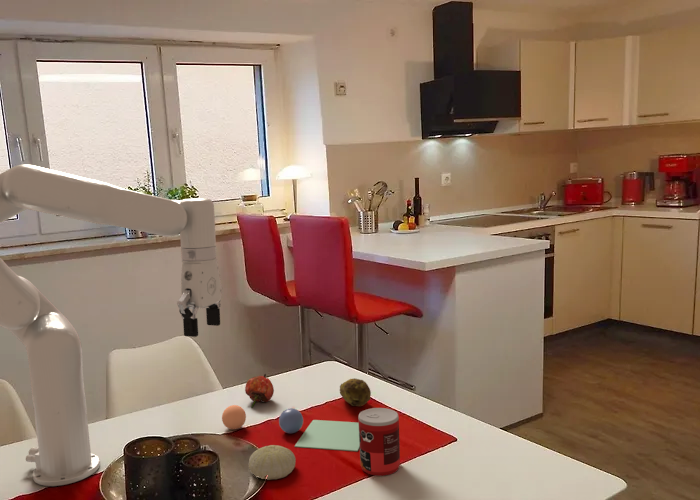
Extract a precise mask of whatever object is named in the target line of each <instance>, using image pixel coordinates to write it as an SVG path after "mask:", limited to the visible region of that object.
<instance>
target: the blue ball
mask: <svg viewBox="0 0 700 500" xmlns="http://www.w3.org/2000/svg"><path fill="white" fill-rule="evenodd" d="M278 424H279V427H280V428H281V430H282V431H283V432H284V433H286V434H295V433H297V432H298V431H300V430H301V429H302V427H303V425H304V417H303V415H302V412H301V411H299V410H298V409H296V408H290V407H289V408H286V409H285V410H283V411H282V412H281V414H279V418H278Z"/></svg>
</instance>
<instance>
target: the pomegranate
mask: <svg viewBox="0 0 700 500" xmlns="http://www.w3.org/2000/svg"><path fill="white" fill-rule="evenodd" d="M266 375H267V374H266V373H264V374H263V375H257V376H254V377H251V378H249V379H248V380H247V382H246V383H245V388H244V391H245V395H247V396H248V398H249V399H250V400H251V401H253V403H252V404H251V406H250V408H251V409H253V407H254V406H255V404H256V402H258V403H259V402H262V403H268V402H269V401H271V399H272V398H273V396H274V392H275V390H274V385H273V382H272V381H271V380H270V379H269V378H267V377H266Z"/></svg>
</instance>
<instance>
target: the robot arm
mask: <svg viewBox="0 0 700 500" xmlns="http://www.w3.org/2000/svg"><path fill="white" fill-rule="evenodd" d="M26 210H30V211H34V212H40V213H44V214H49V215H54V216H57V217H59V216H60V217H64V218H69V219H72V220H78V221H83V222H86V223H87V222H88V223H92V224H96V225H97V224H98V225H103V226H104V225H105V226H113V227H117V228H118V227H119V228H123V229H128V230H132V231H133V230H135V231H138V232H143V233H148V234H152V235H157V236H162V237H175V236H177V235H179V236H180V240H179V241H180V255H181V256H180V257H181V263H182V266H181V278H180V280H181V281H180V283H181V284H180V285H181V286H180V291H181V293H180V294H181V296H180V297H179V298H178V300H177V301H176V302H177V303H176V304H177V307H178V309H179V313H180V315H181V317H180V318H181V319H182V324H183V326H182V327H183V335H184V336H185V337H191V338H193V337H194V338H196V337H198V336H199V325H198V323H199V322H198V321H199V320H198V317H196V316H197V314H198V311H199V309H205V311H206V312H205V314H206V325H207V326H213V327H214V326H216V327H217V326H220V325H221V309H220V308H221V306H222V305H221V300H222V298H223V294H222V293H223V287H222V280H221V273H220V266H219V262H218V259H217V241H216V236H217V235H216V223H215V221H216V219H215V205H214V202H213V201H212V200H211V199H210V198H208V197H207V198H206V197H204V198H203V197H196V198H195V197H194V198H193V197H192V198H184V199H180V200H179V199H170V198H164V197H160V196H155V195H151V194H147V193H142V192H139V191H135V190H130V189H126V188H122V187H119V186H117V185H113V184H110V183H108V182H104V181H101V180H97V179H91V178H87V177H84V176H79V175H75V174H71V173H66V172H63V171H58V170H54V169H50V168H45V167H41V166H37V165H33V164H27V163H26V164H18V165H14V166H12V167H10V168H8V169H7V170H4V171H3V172H1V173H0V224H1V223H3V222H5V221H7V220H9V219H11V218H13V217H15V216H17V215H19V214H21V213H22V212H24V211H26ZM190 309H191V310H190ZM0 328H3V329H7V330H8V331H9V332H10V333H12V335H13V336H14V337H15V338H16V339H18V340H19V341H20V342H21V343H22V344H23V345H24V346H25V349H26V355H27V361H28V367H29V368H28V369H29V379H30V387H31V388H30V390H31V398H32V404H33V412H34V413H33V414H34V421H35V430H36V431H35V432H36V438H37V447H30V449H29V451H28V454H27V455H26V456H25V462H27V463H35V468H34V470H33V472H32V478H33V481H34V482H35V483H36V484H37V485H40V486H45V487H57V486H58V487H60V486H64V485H65V486H66V485H69V484H72V483H73V484H74V483H76V482H79V481H82V480H84V479H86V478H89V477H90V476H91V475H93V474H94V473H96V472H97V470H99V467H101V466H100V465H101V459H100V457H99V456H98V455H97V454H94V453H92V450H91V442H90V441H91V439H90V430H89V422H88V421H89V420H88V410H87V401H86V394H85V393H86V392H85V384H84V382H85V381H84V374H83V373H84V371H83V348H82V341H81V338H80V336H79V334H78V332H77V330H76V328H75V327H74V326H73V324H72V323H71V321H70V320H69V319H68V318H67V317H66V316H65V315H64V314H63V313H62V312H61V311H60V310H59V309H58V308H57V307H56V306H55V305H54V304H53V303H52V302H51V301H50V300H49V299H48V298H47V297H46V295H44V293H42V292H41V291H40V290H39V289H38V287H36V285H35V284H34V283H32V282H31V280H29V279H27V278H25V277H23V276H21V275H18V274H17V273H16V272H15V271H14V270H12V268H11V267H9V266H8V264H7V263H6V262H5V261H4V260H3V258H1V257H0Z"/></svg>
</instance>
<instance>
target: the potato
mask: <svg viewBox="0 0 700 500" xmlns="http://www.w3.org/2000/svg"><path fill="white" fill-rule="evenodd" d="M371 391H372V390H371V388H370V386H369V385H368V384H367V382H366V381H364V380H363V379H359V378H350V379H348V380H345V381H344V382H343V383H341V384H340V385H339V393H340V396H341V397H342V398H343V400H344V401H345V402H347V403H348V404H350V405H351V406H353V407H363V406H364V405H366V404H367V403H368V402H369V401H370V400H371V396H372V392H371Z"/></svg>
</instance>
